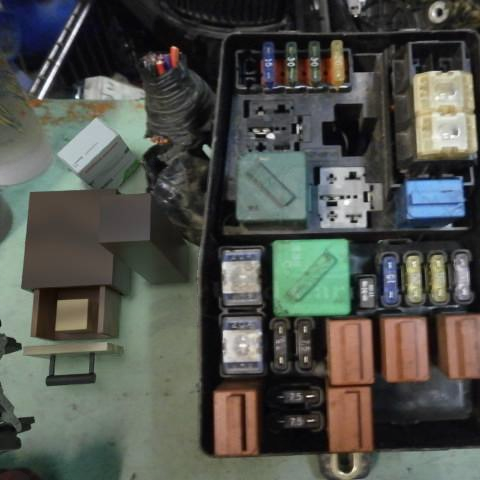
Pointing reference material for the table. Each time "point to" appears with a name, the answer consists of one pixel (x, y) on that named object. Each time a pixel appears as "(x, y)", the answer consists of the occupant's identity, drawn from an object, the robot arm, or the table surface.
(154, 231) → the post
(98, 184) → the ink box
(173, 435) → the table surface
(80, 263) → the cabinet
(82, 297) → the drawer
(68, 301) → the block
